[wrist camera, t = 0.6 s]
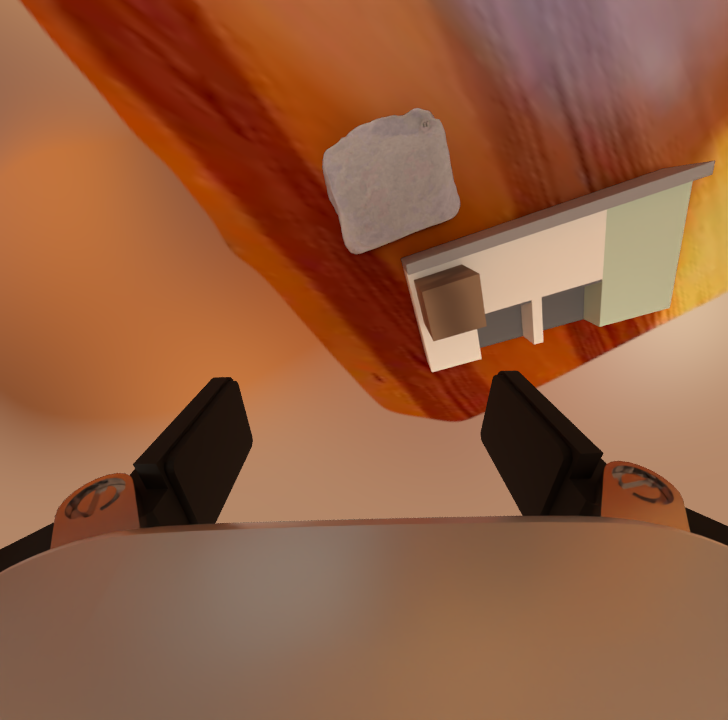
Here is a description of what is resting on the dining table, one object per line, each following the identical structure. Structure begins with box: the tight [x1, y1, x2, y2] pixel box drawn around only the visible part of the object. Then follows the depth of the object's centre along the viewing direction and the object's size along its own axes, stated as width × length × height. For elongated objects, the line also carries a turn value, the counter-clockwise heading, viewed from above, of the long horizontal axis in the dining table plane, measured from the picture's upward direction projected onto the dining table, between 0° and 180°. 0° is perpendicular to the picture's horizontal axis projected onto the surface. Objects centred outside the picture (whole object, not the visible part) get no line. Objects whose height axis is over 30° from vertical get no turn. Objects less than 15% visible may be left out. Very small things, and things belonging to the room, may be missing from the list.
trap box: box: [401, 161, 715, 372], centre depth 30 cm, size 26×14×4 cm, turn 108°
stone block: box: [322, 108, 460, 254], centre depth 27 cm, size 12×5×10 cm
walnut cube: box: [414, 264, 487, 341], centre depth 27 cm, size 5×5×5 cm
